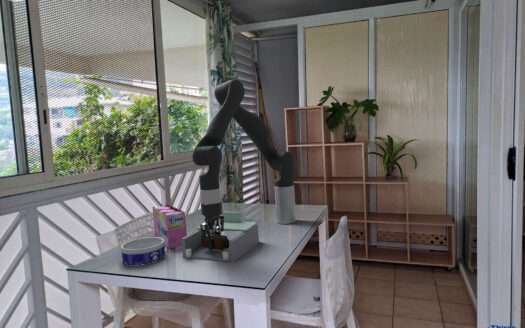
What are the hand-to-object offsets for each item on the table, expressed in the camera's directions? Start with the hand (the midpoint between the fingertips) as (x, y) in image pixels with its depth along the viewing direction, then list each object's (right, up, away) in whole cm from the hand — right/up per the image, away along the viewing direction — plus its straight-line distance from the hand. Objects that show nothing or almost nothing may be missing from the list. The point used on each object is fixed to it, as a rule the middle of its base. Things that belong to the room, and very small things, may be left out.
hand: (214, 246), depth 136 cm
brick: (0, -1, 0) cm, 1 cm away
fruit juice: (-7, +2, +54) cm, 54 cm away
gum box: (-22, -3, +22) cm, 31 cm away
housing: (+2, -2, +5) cm, 6 cm away
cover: (+4, +6, +10) cm, 12 cm away
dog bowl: (-26, -5, +1) cm, 27 cm away
